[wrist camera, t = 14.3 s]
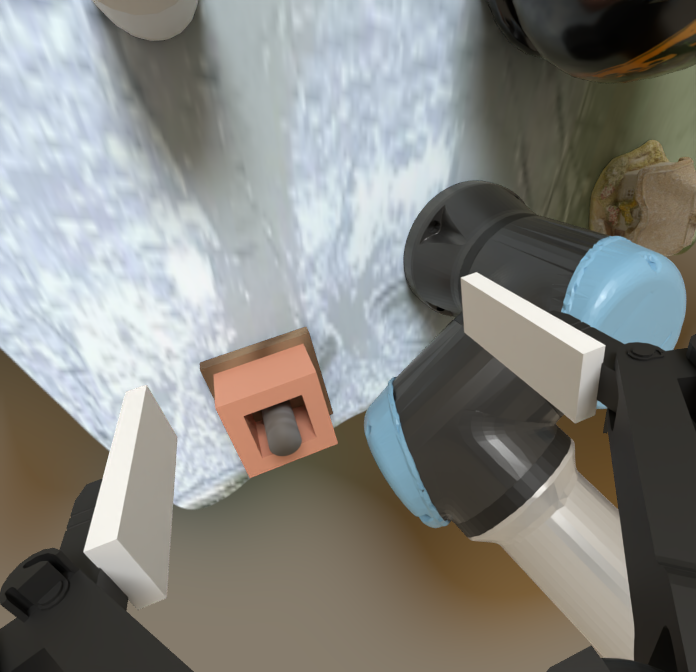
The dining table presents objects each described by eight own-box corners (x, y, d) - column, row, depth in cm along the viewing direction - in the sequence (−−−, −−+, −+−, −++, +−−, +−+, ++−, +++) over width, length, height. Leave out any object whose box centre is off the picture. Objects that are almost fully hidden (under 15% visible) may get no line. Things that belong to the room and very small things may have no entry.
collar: (303, 343, 45) (316, 372, 40) (324, 410, 51) (338, 443, 46) (213, 374, 44) (215, 408, 39) (244, 440, 49) (249, 478, 44)
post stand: (306, 326, 46) (329, 373, 38) (330, 406, 53) (355, 461, 44) (199, 362, 44) (200, 420, 36) (237, 441, 51) (245, 506, 42)
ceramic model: (595, 151, 48) (680, 158, 39) (672, 134, 50) (768, 138, 42) (578, 265, 55) (647, 293, 46) (646, 246, 57) (723, 269, 49)
